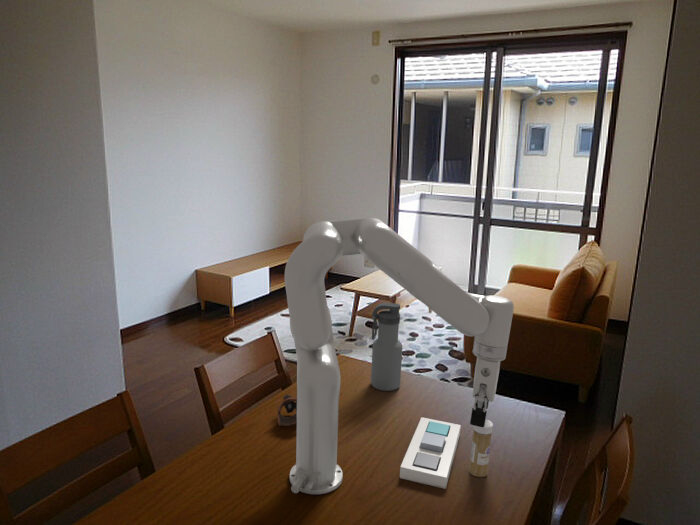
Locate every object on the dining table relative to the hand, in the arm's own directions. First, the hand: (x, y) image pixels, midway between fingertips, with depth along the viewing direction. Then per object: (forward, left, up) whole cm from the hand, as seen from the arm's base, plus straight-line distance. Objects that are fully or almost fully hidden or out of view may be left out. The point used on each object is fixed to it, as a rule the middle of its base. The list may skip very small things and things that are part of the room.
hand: (479, 416), depth 124 cm
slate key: (+4, +11, -13) cm, 18 cm away
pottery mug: (+5, +51, -16) cm, 54 cm away
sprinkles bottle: (0, -1, -15) cm, 15 cm away
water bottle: (+38, +33, -15) cm, 52 cm away
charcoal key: (-4, +11, -14) cm, 19 cm away
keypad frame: (+4, +11, -15) cm, 19 cm away
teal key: (+12, +11, -14) cm, 21 cm away
